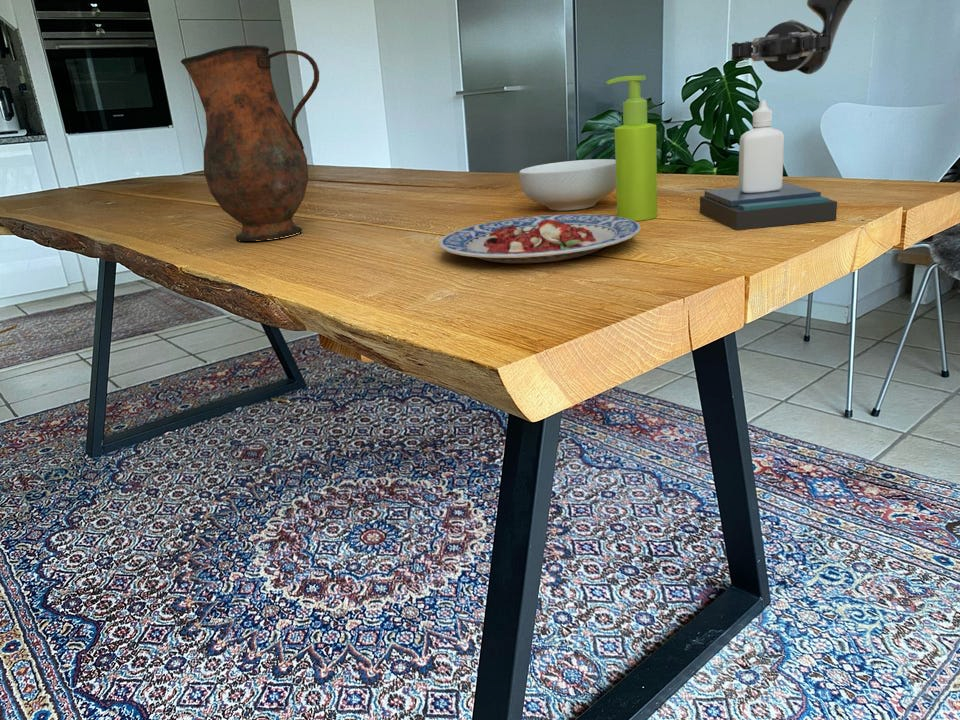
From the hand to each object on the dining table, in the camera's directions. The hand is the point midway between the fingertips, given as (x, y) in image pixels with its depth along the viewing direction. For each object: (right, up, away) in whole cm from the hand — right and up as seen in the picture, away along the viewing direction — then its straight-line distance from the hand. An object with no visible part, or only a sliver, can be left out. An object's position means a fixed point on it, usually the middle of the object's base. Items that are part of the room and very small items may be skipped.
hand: (775, 46), depth 109 cm
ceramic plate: (-36, -32, -13) cm, 50 cm away
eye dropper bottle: (-5, -23, -6) cm, 24 cm away
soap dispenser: (-21, -25, +2) cm, 33 cm away
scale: (-4, -26, -7) cm, 28 cm away
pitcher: (-78, -25, +18) cm, 84 cm away
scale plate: (-5, -24, -6) cm, 25 cm away
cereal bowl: (-28, -20, +17) cm, 39 cm away
